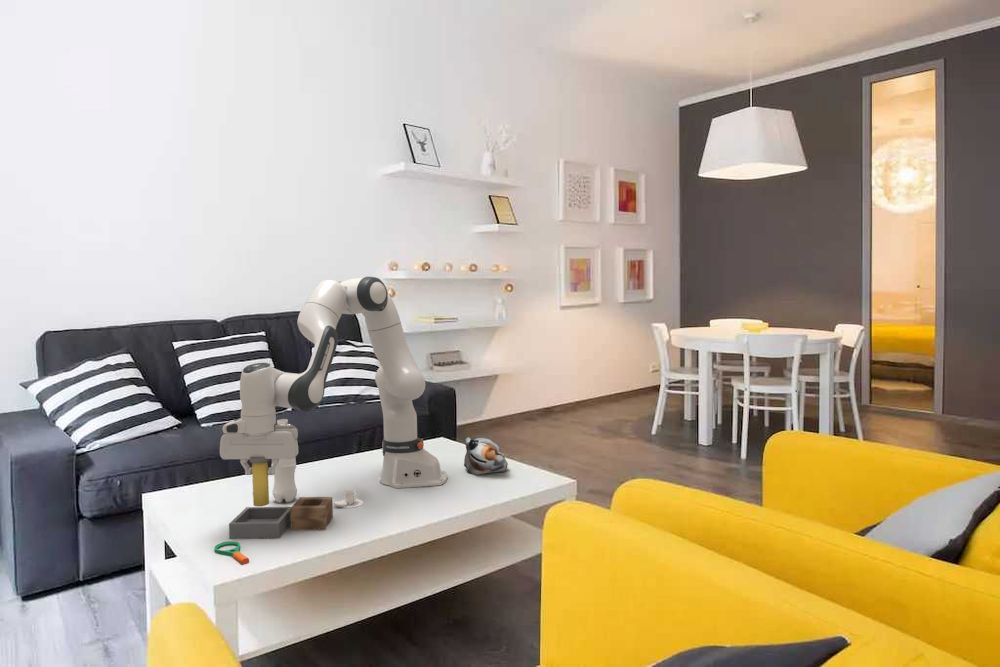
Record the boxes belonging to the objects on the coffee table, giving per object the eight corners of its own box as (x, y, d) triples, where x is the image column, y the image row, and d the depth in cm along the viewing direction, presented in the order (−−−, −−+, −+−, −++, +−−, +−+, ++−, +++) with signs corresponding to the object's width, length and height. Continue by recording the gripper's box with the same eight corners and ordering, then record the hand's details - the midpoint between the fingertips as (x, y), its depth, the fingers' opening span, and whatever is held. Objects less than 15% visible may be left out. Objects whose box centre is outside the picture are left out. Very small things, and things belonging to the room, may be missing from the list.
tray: (293, 520, 193) (292, 506, 193) (279, 538, 180) (278, 523, 180) (246, 521, 193) (246, 507, 193) (229, 538, 180) (228, 523, 180)
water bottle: (290, 495, 216) (287, 416, 214) (301, 500, 211) (299, 420, 208) (268, 500, 211) (265, 420, 209) (279, 506, 206) (276, 423, 203)
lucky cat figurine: (515, 468, 244) (517, 435, 235) (494, 491, 234) (494, 458, 226) (477, 449, 251) (477, 417, 243) (454, 471, 242) (454, 438, 233)
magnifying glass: (210, 550, 174) (210, 543, 174) (234, 543, 178) (234, 537, 178) (232, 568, 163) (232, 562, 162) (258, 561, 167) (257, 555, 166)
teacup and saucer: (336, 511, 202) (335, 497, 202) (331, 503, 209) (330, 490, 209) (365, 507, 205) (365, 493, 205) (360, 499, 213) (359, 486, 212)
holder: (332, 517, 196) (332, 496, 195) (325, 529, 186) (324, 507, 186) (300, 517, 195) (299, 497, 195) (291, 529, 186) (290, 508, 186)
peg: (273, 500, 189) (272, 452, 188) (267, 507, 184) (266, 457, 182) (254, 500, 189) (253, 452, 187) (248, 507, 183) (246, 457, 182)
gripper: (300, 421, 188) (302, 470, 189) (225, 421, 187) (227, 471, 188) (294, 426, 181) (295, 477, 182) (216, 426, 181) (218, 478, 182)
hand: (260, 474), depth 185 cm, fingers closed on peg, 5 cm apart
